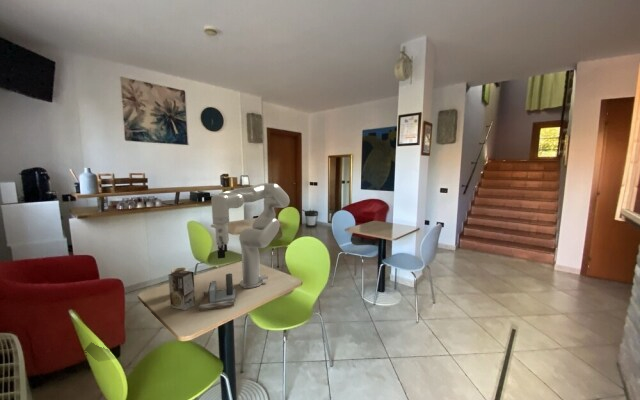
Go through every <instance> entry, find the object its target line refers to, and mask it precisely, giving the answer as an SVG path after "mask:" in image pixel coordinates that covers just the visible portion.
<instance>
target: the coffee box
mask: <svg viewBox="0 0 640 400" xmlns="http://www.w3.org/2000/svg"><path fill="white" fill-rule="evenodd" d="M194 272H195V271H190V270H189V271H183V270H178V271H176V272H173V273H172V274H171V273H169V274H168V286H169V287H168V288H169V300H170V308H173V309H178V310H182V311H186V310H188V309H190V308H191V307H193V306H195V305H196V295H195V293H196V291H195V280H194V279H195V277H194Z"/></svg>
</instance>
